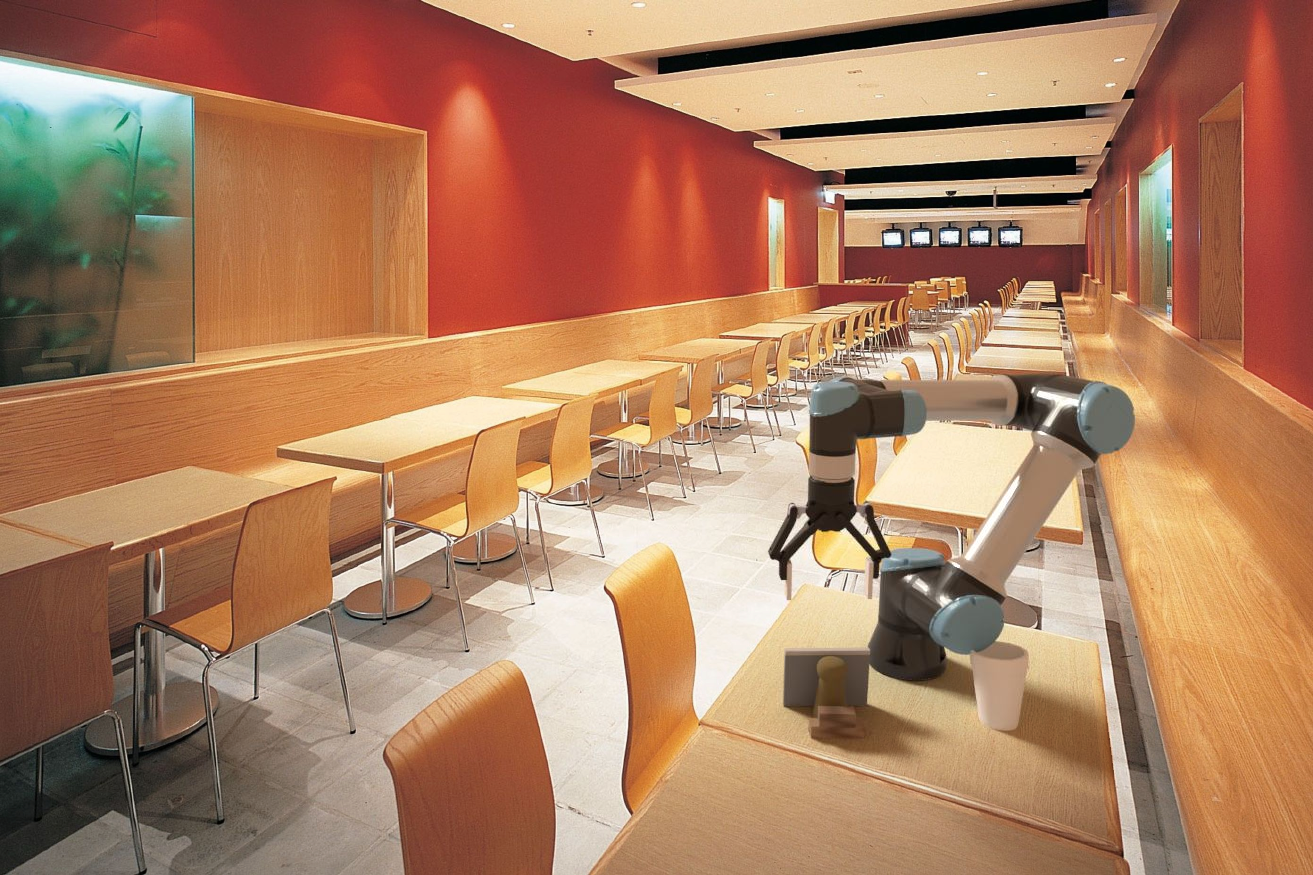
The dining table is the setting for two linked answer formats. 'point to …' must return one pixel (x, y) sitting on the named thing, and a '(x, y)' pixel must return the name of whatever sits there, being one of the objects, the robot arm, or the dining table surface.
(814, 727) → the offcut low
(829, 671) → the cork
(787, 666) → the board
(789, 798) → the dining table surface
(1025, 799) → the dining table surface
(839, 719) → the offcut top
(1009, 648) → the foam cup
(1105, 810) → the dining table surface
